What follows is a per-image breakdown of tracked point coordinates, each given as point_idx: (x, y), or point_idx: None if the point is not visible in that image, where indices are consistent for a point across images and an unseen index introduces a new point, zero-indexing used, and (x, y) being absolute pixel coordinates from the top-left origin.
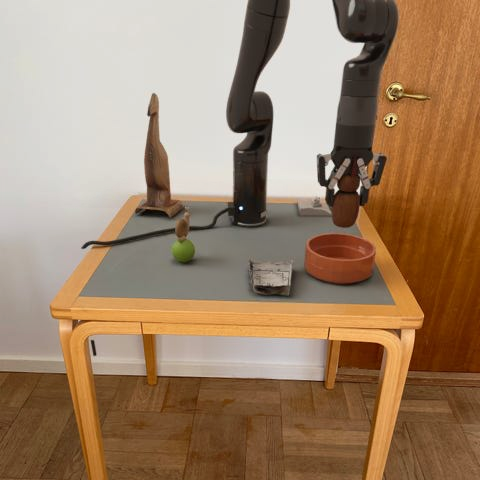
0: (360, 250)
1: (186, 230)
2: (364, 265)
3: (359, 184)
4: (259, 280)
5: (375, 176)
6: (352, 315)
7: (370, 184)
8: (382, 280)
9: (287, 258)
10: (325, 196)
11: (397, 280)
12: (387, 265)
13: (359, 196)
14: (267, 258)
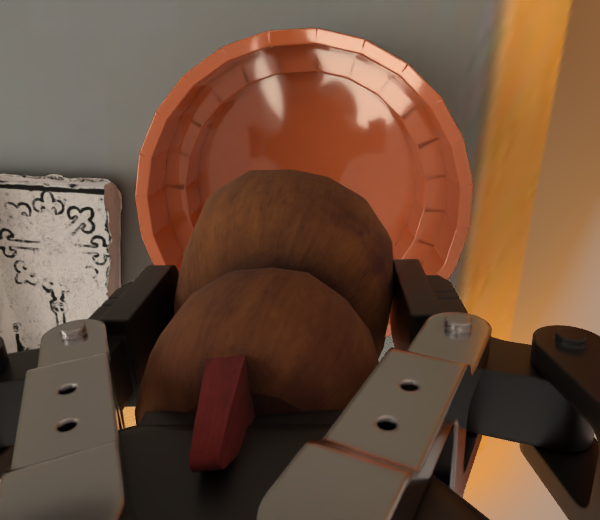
0: (420, 126)
1: None
2: None
3: None
4: (14, 262)
5: (557, 497)
6: None
7: (480, 440)
8: (459, 266)
9: (102, 60)
10: (106, 304)
11: (516, 267)
12: (533, 134)
13: (378, 353)
14: (15, 61)
